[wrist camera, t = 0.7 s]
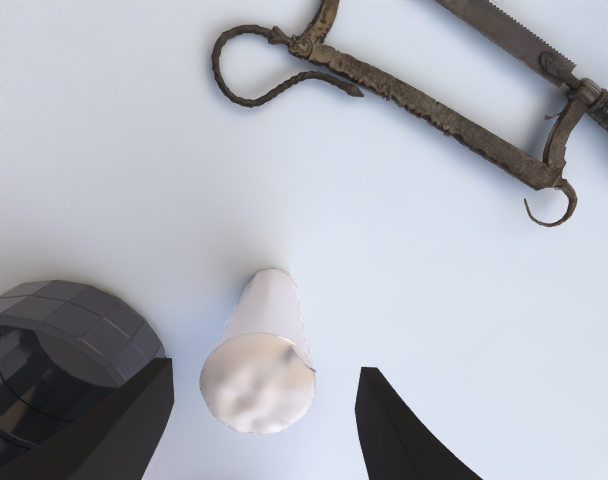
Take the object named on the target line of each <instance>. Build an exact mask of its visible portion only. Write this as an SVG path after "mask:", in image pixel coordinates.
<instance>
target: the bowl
mask: <svg viewBox="0 0 608 480" xmlns="http://www.w3.org/2000/svg"><path fill="white" fill-rule="evenodd" d="M155 357H160V358H166V356H165V352H164V349H163V345H162V344H161V341H160V340H159V339H158V337H157V336H156V334H155V333H154V331H153V330H152V328H151V327H150V325H149V324H148V323H147V321H146V320H145V319H144V318H143V317H141V316H140V315H139V314H138V313H137V312H135V311H134V310H133V309H132V308H130V307H129V306H128V305H127V304H126V303H124V302H123V301H122V300H121V299H119V298H117V297H115V296H112V295H110V294H108V293H106V292H104V291H101V290H99V289H97V288H95V287H93V286H90V285H85V284H79V283H73V282H68V281H62V280H51V281H41V282H31V283H24V284H21V285H19V286H17V287H15V288H12V289H10V290H8V291H6V292H4V293H1V294H0V468H1V467H3V466H4V465H6V464H8V463H10V462H11V461H13V460H15V459H16V458H18V457H20V456H22V455H23V454H25V453H27V452H28V451H30V450H32V449H33V448H35V447H37V446H39V445H40V444H42V443H43V442H45V441H46V440H48V439H50V438H51V437H53V436H54V435H56V434H57V433H59V432H60V431H62V430H63V429H65V428H66V427H68V426H69V425H71V424H72V423H74V422H75V421H76V420H78V419H79V418H81V417H82V416H83V415H85V414H86V413H87V412H88V411H90V410H91V409H92V408H94V407H95V406H96V405H98V404H99V403H100V402H102V401H103V400H104V399H106V398H107V397H108V396H109V395H111V394H112V393H113V392H114V391H115V390H117V389H118V388H119V387H120V386H122V385H123V384H124V383H125V382H126V381H128V380H129V379H130V378H131V377H132V376H133V375H135V374H136V373H137V372H138V371H139V370H141V369H142V368H143V367H144V366H145V365H146V364H148V363H149V362H150V361H151V360H153V359H154V358H155Z"/></svg>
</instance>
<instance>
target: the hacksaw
mask: <svg viewBox="0 0 608 480" xmlns="http://www.w3.org/2000/svg"><path fill="white" fill-rule="evenodd" d="M435 1H436V2H438V3H439V4H441V5H442V6H443V7H445V8H446V9H448V10H449V11H450V12H452V13H453V14H455V15H456V16H458V17H459V18H460V19H462V20H463V21H465V22H466V23H467V24H469V25H470V26H472V27H473V28H474V29H476V30H477V31H479V32H480V33H481V34H483V35H484V36H486V37H487V38H488V39H490V40H491V41H493V42H494V43H496V44H497V45H498V46H500V47H501V48H503V49H504V50H505V51H507V52H508V53H510V54H511V55H512V56H514V57H515V58H517V59H518V60H519V61H521V62H522V63H524V64H525V65H526V66H528V67H529V68H531V69H532V70H533V71H535V72H536V73H538V74H539V75H541V76H542V77H543V78H545V79H546V80H548V81H549V82H550V83H552V84H553V85H555V86H556V87H557V88H560V87H561V85H562V84H563V83H565V84H566V85H567V86H568V87H569V90H568V93H567V97H568V99H569V100H570V101H569V102H568V103H567V105H566V106H565V108H564V109H563V111H562V112H561V113H558V114H556V115H553V116H546V115H545V120H547V119H550V118H553V117H555V116H558V115H560V116H559V118H558V119H557V121H556V122H555V124H554V126H553V127H552V129H551V131H550V132H549V135H548V138H547V141H546V144H545V148H544V151H543V161H542V162H541V161H539V160H537V159H535V158H533V157H531V156H530V155H528V154H526V153H525V152H523V151H522V150H520V149H518V148H516V147H515V146H513V145H511V144H510V143H508V142H506V141H504V140H503V139H501V138H499V137H498V136H496V135H494V134H493V133H491V132H489V131H487V130H486V129H484V128H482V127H481V126H479V125H477V124H475V123H474V122H472V121H470V120H468V119H467V118H465V117H463V116H462V115H460V114H458V113H457V112H455V111H453V110H452V109H450V108H448V107H446V106H445V105H443V104H441V103H440V102H437V101H436V100H435V99H433V98H431V97H429V96H428V95H426V94H424V93H423V92H421V91H419V90H418V89H416V88H414V87H412V86H410V85H408V84H406V83H404V82H403V81H401V80H399V79H397V78H395V77H394V76H392V75H390V74H388V73H386V72H383V71H381V70H379V69H377V68H375V67H373V66H371V65H369V64H367V63H364V62H361V61H359V60H357V59H355V58H354V57H352V56H351V55H349V54H345V53H341V52H340V51H338V50H337V51H336V50H335V48H333V47H331V46H327V45H322V43H324V39H325V37H326V35H327V33H328V32H329V31H330V29H331V27H332V25H333V23H334V20H335V18H336V14H337V9H338V5H339V0H322V3H321V6H320V8H319V11H318V13H317V14H316V16H315V18H314V19H313V21H312V23H309V25H308V27H307V29H306V30H305V31H304V33H303V34H302V35H301V36H295V35H294V34H293V35H292V39H291V38H290V37H287V36H286V35H285V34H284V33H283V32H282V31H281V30H280V29H279V28H278V27H277V26H273V28H272V30H269V29H268V28H264V27H260V26H258V25H242V26H238V27H234V28H232V29H230V30H228V31H226V32H223V33H222V35H221V36H220V37H219V38H218V40H217V41H216V43H215V45H214V49H213V53H212V70H213V72H214V77H215V80H216V82H217V83H218V85H219V88H220V89H221V90H222V92H223V93H224V95H225V96H227V97H228V98H229V99H230V100H231V101H232V102H234V103H237V104H239V105H241V106H245V107H250V108H252V107H254V106H260V105H263V104H264V103H266V102H268V101H270V100H271V99H273V98H274V97H276V96H277V95H278V94H279V93H282V92H283V91H284V90H286V89H287V88H289V87H291V86H292V85H294V84H297V83H298V82H299V81H304V80H305V79H313V78H315V79H319V80H323V81H326V82H328V83H330V84H332V85H335V86H337V87H339V88H340V89H342V90H345V91H346V92H347V94H348V95H351V96H353V97H364V95H363V94H362V92H361V91H360V90H359V88H358V87H356V86H355V85H353V84H349V83H346V82H344V81H341V80H339V79H338V78H336V77H333V76H330V75H328V74H323V73H321V72H320V71H319V72H314V71H308V72H300V73H299V74H298V75H296V76H292V77H291V78H290V79H289V80H286V81H284V82H283V83H282V84H279V85H278V86H277V87H276V88H274V89H272V90H271V91H270V92H268V93H267V94H266V95H264V96H262V97H260V98H258V99H255V100H251V99H247V100H246V99H244V98H241V97H237V96H236V95H234V94H233V93H232V92H231V91H230V90H229V88H228V87H227V86H226V84H225V83H224V81H223V78H222V76H221V73H220V68H219V57H220V54H221V48H222V46H223V45H224V44H225V43H226V41H227V40H228V39H230V38H233V37H235V36H236V35H241V34H243V33H254V34H261V35H263V36H265V37H267V38H268V43H270V44H286V45H288V48H289V50H288V51H289V53H290V54H291V55H293V56H295V57H298V58H300V59H301V60H302V59H303V58H304V59H305V60H306V59H308V61H309V63H312V64H314V65H317V66H325V67H327V68H328V69H329V71H331V72H334V73H336V74H338V75H340V76H342V77H344V78H345V79H347V80H349V81H351V82H353V83H355V84H357V85H359V86H361V87H363V88H365V89H367V90H368V91H370V92H372V93H374V94H376V95H378V96H380V97H383V98H385V97H386V100H387V101H389V100H390V99H391V98H392V99H393V100H394V101H395V102H396V104H397V105H398V107H404V108H405V110H407V111H408V112H410V113H411V114H413V115H415V116H417V117H418V118H423V119H425V120H426V121H427V123H428V124H429V125H431V126H433V127H435V128H437V129H439V130H441V131H442V132H444V135H446V136H453V137H454V138H455V139H457V140H458V141H459V142H460V143H461V144H463V145H465V146H467V147H468V148H469V149H470V150H472V151H474V152H475V153H477V154H479V155H481V156H482V157H483V158H485V159H487V160H489V161H490V162H491V163H493V164H495V165H497V166H498V167H500V168H501V169H503V170H504V171H506V172H507V173H509V174H510V175H512V176H513V177H515V178H517V179H518V180H520V181H521V182H523V183H525V184H526V185H528V186H530V187H531V188H534V190H536V191H538V190H541V189H544V188H554V189H555V190H562V191H563V192H564V193H565V195H566V196H567V197H568V198H569V205H568V209H567V212H566V214H565V215H564V216H563V218H562V219H560V220H559V221H557V222H555V223H551V224H547V223H543V222H540V221H538V220H536V219H535V218H534V217H533V216H532V215H531V213H530V210H529V207H528V205H527V202H526V199H524V201H525V205H526V209H527V212H528V214H529V216H530V218H531V219H532V220H533V221H534V222H536V223H538V224H539V225H543V226H546V227H552V226H557V225H560V224H562V223H563V222H565V221H566V220H567V219H568V218H569V217H570V216H572V214H573V211H574V209H575V207H576V204H577V196H576V193H575V190H574V189H573V187H572V186H571V185H570V184H569V183H568V182H567V180H566V179H562V170H563V168H564V166H565V164H566V161H565V159H564V155H565V150H566V147H565V144H566V142H567V140H568V137H569V135H570V133H571V131H572V129H573V128H574V127H575V125H576V124H577V123H578V121H579V120H580V119H581V117H582V116H583V114H584V113H585V112H586V113H588V115H590V116H591V117H592V118H593V119H594V120H595V121H597V122H598V124H599V125H601V126H602V127H604V128H605V129H606V130H607V131H608V92H607V90H606V89H600V88H599V87H598V86H597V85H596V84H595V83H594V82H593V81H592V80H590V79H588V78H582V79H580V80H578V79H577V78H576V77H574V76H573V75H572V74H571V72H572V70H573V69H574V68H575V66H576V65H574V62H571V60H568V58H565V57H564V55H561V53H558V51H555V49H552V46H549V44H546V43H545V41H544V42H543V41H542V39H539V37H536V34H533V33H532V32H530V31H529V30H527V29H526V27H523V25H520V23H519V22H518V23H516V20H513V18H511V17H510V16H509V15H506V13H503V10H499V8H496V5H493V4H492V3H489V0H435Z"/></svg>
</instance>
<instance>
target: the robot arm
mask: <svg viewBox="0 0 608 480" xmlns="http://www.w3.org/2000/svg"><path fill="white" fill-rule="evenodd" d="M173 404H174V388H173V371H172V358H160V357H155V358H154V359H153V360H151V361H150V362H149V363H148V364H146V365H145V366H144V367H143V368H142V369H141V370H139V371H138V372H137V373H136V374H135V375H133V376H132V377H131V378H130V379H129V380H128V381H126V382H125V383H124V384H123V385H122V386H120V387H119V388H118V389H117V390H115V391H114V392H113V393H112V394H111V395H109V396H108V397H107V398H106V399H104V400H103V401H102V402H100V403H99V404H98V405H96V406H95V407H94V408H92V409H91V410H90V411H88V412H87V413H86V414H85V415H83V416H82V417H81V418H79V419H78V420H76V421H75V422H74V423H72V424H71V425H69V426H68V427H66V428H65V429H63V430H62V431H60V432H59V433H57V434H56V435H54V436H53V437H51V438H50V439H48V440H46V441H45V442H43V443H42V444H40V445H39V446H37V447H35V448H33V449H32V450H30V451H28V452H27V453H25V454H23V455H22V456H20V457H18V458H16V459H15V460H13V461H11V462H10V463H8V464H6V465H4V466H3V467H1V468H0V480H141V479H142V477H143V475H144V472H145V470H146V468H147V466H148V464H149V462H150V460H151V458H152V456H153V454H154V451H155V449H156V447H157V445H158V443H159V441H160V439H161V437H162V434H163V432H164V430H165V427H166V425H167V422H168V419H169V416H170V413H171V410H172V407H173ZM355 415H356V422H357V429H358V436H359V440H360V445H361V449H362V453H363V457H364V461H365V464H366V468H367V472H368V476H369V480H483V479H482V478H480V477H479V476H478V475H477V474H476V473H474V472H473V471H472V470H471V469H470V468H468V467H467V466H466V465H465V464H464V463H463V462H461V461H460V460H459V459H458V458H457V457H456V456H455V455H454V454H453V453H452V452H451V451H450V450H448V449H447V448H446V447H445V446H444V445H443V444H442V443H441V442H440V441H439V440H438V439H437V438H436V437H435V436H434V435H433V434H432V433H431V432H430V431H429V430H428V429H427V428H426V426H425V425H424V424H423V423H422V422H421V421H420V420H419V419H418V418H417V417H416V415H415V414H414V413H413V412H412V411H411V409H410V408H409V407H408V406H407V405H406V404H405V402H404V401H403V400H402V399H401V397H400V396H399V395H398V394H397V392H396V391H395V390H394V389H393V387H392V386H391V385H390V384H389V382H388V381H387V380H386V378H385V377H384V376H383V374H382V373H381V372H380V371H379V369H378V368H375V367H361V373H360V379H359V385H358V391H357V398H356V404H355Z"/></svg>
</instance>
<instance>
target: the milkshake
mask: <svg viewBox="0 0 608 480" xmlns="http://www.w3.org/2000/svg"><path fill="white" fill-rule="evenodd" d="M315 372H316V371H315V369H314V368H313V364H312V359H311V355H310V350H309V346H308V341H307V337H306V332H305V326H304V320H303V314H302V309H301V303H300V297H299V291H298V287H297V285H296V284H295V282H294V281H293V279H292V278H291V276H290V275H289V274H288V273H285V272H283V271H280V270H277V269H275V268H272V269H268V270H264V271H259V272H257V273H256V274H255V276H254V277H253V278H252V279H251V280H250V281H249V282H248V284H247V285H246V287H245V289H244V291H243V293H242V295H241V297H240V299H239V301H238V303H237V305H236V307H235V309H234V311H233V313H232V315H231V317H230V319H229V321H228V323H227V325H226V327H225V329H224V330H223V332H222V334H221V336H220V337H219V339H218V341H217V343H216V345H215V346H214V348H213V350H212V352H211V353H210V355H209V357H208V359H207V360H206V362H205V364H204V366H203V369H202V372H201V375H200V390H201V393H202V395H203V397H204V399H205V402H206V404H207V406H208V408H209V410H210V412H211V413H212V414H213V416H214V417H215V418H216V419H218V420H219V421H221V422H222V423H224V424H226V425H227V426H228V427H230V428H231V429H233V430H235V431H237V432H242V433H257V434H266V435H267V434H273V433H276V432H279V431H281V430H283V429H285V428H287V427H289V426H290V425H292V424H293V423H295V422H297V421H298V420H299V419H301V418H302V417H303V416H304V415H305V413H306V412H307V411H308V409H309V408H310V406H311V404H312V402H313V399H314V394H315V385H316V377H315Z"/></svg>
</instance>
